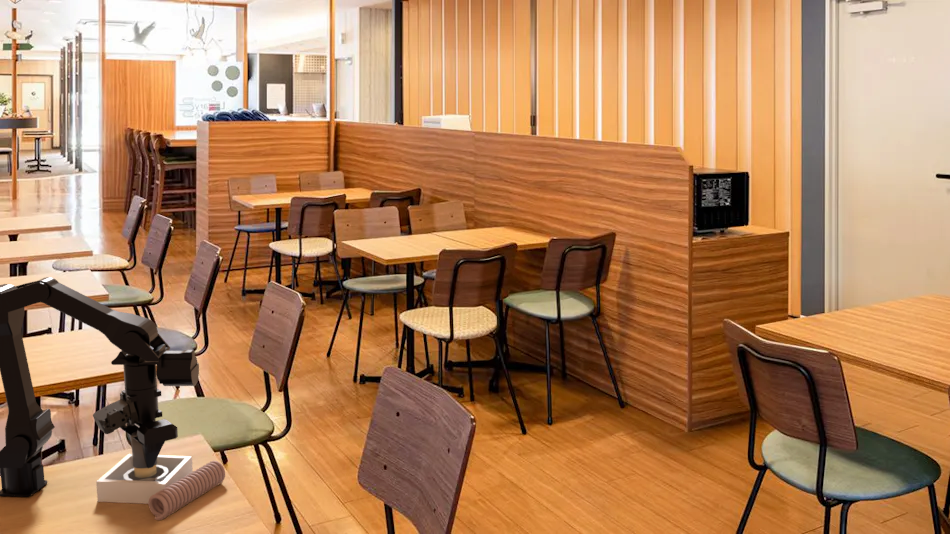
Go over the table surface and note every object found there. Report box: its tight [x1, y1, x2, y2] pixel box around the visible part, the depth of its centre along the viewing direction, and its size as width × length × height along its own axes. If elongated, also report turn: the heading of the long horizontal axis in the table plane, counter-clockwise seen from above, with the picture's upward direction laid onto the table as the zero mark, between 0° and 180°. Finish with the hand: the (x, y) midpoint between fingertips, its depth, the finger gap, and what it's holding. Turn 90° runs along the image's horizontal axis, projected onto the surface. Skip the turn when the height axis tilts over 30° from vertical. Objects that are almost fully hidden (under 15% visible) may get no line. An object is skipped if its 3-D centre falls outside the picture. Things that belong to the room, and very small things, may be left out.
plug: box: [130, 431, 157, 478], centre depth 163 cm, size 4×4×8 cm
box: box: [95, 453, 194, 505], centre depth 164 cm, size 13×13×4 cm
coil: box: [148, 460, 226, 521], centre depth 159 cm, size 5×5×18 cm
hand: (145, 463), depth 163 cm, fingers closed on plug, 4 cm apart
